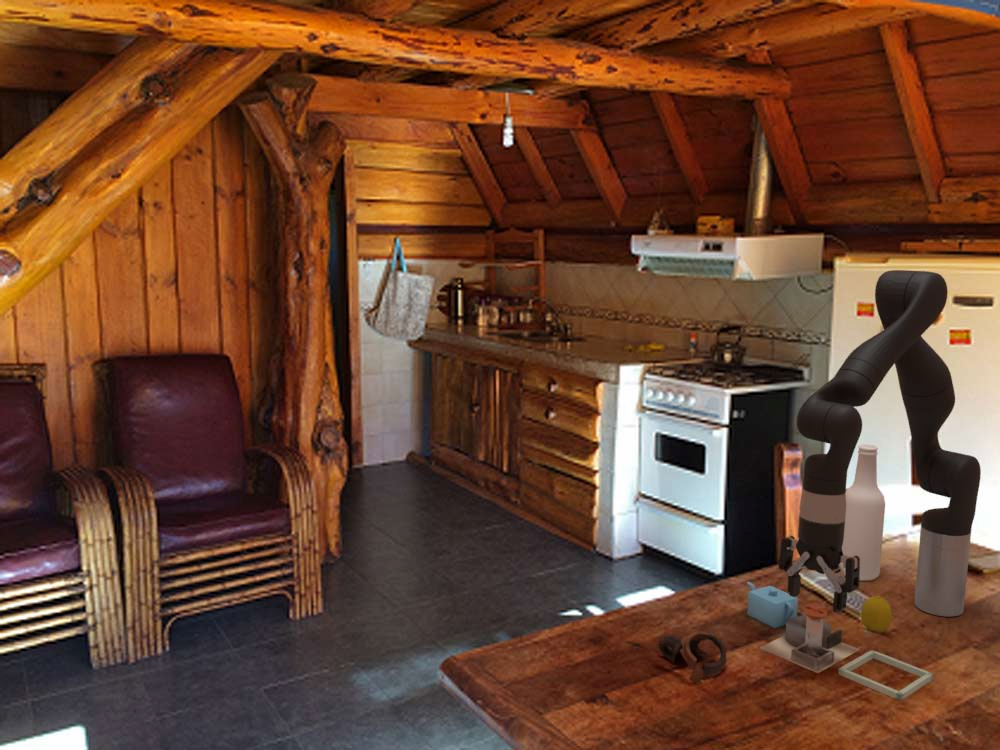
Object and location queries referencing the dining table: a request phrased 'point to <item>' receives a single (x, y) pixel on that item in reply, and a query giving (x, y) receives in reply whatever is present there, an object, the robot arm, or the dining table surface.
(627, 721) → the dining table surface
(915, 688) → the tray
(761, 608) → the teapot
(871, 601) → the lemon
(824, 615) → the pin
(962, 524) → the robot arm
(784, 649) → the pulley board
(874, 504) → the alcohol
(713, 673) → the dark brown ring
